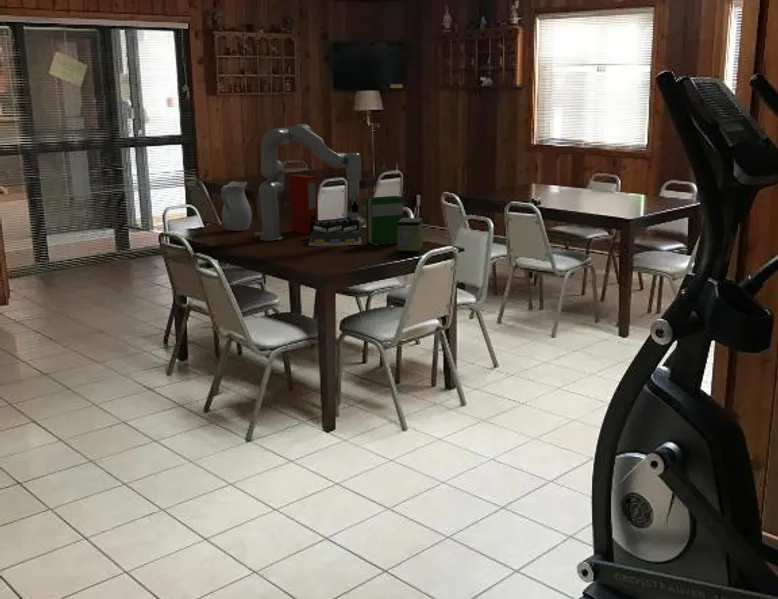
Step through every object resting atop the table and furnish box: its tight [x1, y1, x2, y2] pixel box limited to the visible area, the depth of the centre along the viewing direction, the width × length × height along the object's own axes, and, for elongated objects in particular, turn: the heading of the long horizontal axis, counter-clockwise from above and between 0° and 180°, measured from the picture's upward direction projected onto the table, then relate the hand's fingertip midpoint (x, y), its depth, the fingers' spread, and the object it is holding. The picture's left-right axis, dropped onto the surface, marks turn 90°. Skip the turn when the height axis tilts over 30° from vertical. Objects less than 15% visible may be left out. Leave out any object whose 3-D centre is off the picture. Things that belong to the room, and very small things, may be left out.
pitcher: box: [220, 181, 253, 231], centre depth 485 cm, size 24×17×28 cm
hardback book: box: [365, 195, 404, 246], centre depth 441 cm, size 18×7×24 cm, turn 116°
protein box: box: [397, 217, 424, 254], centre depth 419 cm, size 10×16×16 cm
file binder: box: [289, 174, 319, 235], centre depth 479 cm, size 8×17×32 cm, turn 36°
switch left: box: [313, 226, 326, 232], centre depth 445 cm, size 7×6×1 cm
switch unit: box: [308, 230, 362, 247], centre depth 445 cm, size 27×20×6 cm
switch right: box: [344, 225, 357, 232], centre depth 446 cm, size 7×6×1 cm
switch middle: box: [328, 225, 342, 232], centre depth 445 cm, size 7×6×1 cm
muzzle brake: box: [310, 216, 362, 233], centre depth 465 cm, size 10×28×10 cm, turn 124°
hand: (355, 212), depth 444 cm, fingers closed
